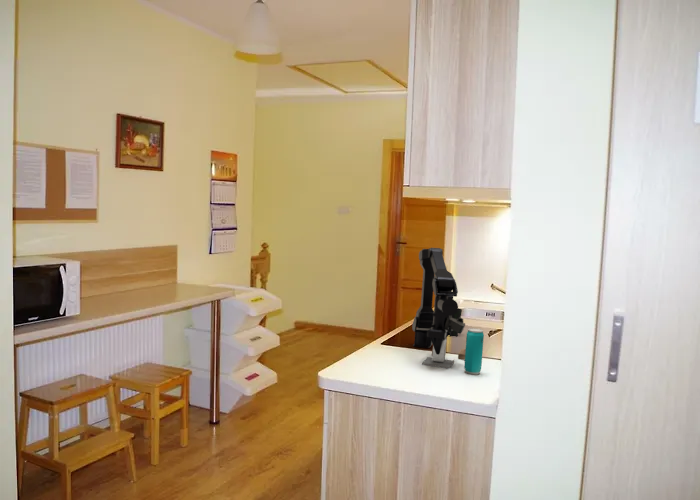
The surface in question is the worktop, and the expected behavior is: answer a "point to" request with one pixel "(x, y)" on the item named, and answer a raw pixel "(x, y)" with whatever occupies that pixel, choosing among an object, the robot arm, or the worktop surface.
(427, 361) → the pad
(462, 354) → the vise
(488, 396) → the worktop surface
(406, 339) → the worktop surface
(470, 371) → the beverage can
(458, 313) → the cup
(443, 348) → the pale grey block
